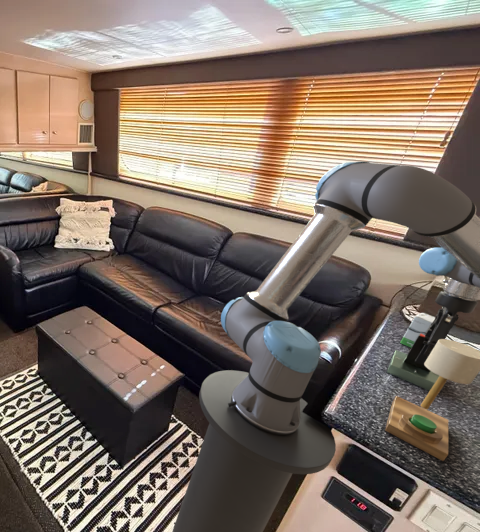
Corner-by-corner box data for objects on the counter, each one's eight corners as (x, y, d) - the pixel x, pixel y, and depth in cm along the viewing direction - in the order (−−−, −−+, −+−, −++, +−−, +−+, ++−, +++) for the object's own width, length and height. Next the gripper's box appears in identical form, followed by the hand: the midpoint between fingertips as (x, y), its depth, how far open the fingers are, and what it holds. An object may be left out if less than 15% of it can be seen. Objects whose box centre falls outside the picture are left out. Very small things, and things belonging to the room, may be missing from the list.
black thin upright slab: (430, 370, 99) (447, 342, 95) (429, 372, 98) (447, 344, 94) (404, 359, 103) (419, 333, 99) (403, 361, 102) (419, 335, 98)
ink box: (416, 350, 115) (433, 322, 111) (399, 343, 119) (414, 315, 115) (424, 345, 120) (440, 318, 116) (406, 338, 124) (422, 311, 119)
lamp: (414, 413, 78) (453, 353, 72) (396, 391, 86) (430, 335, 79) (455, 424, 76) (499, 363, 70) (432, 401, 83) (470, 344, 77)
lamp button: (432, 436, 72) (436, 431, 72) (409, 424, 75) (412, 419, 74) (433, 428, 75) (437, 422, 74) (410, 417, 78) (413, 411, 77)
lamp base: (443, 461, 71) (452, 448, 69) (384, 430, 77) (392, 418, 76) (444, 426, 81) (452, 414, 79) (392, 401, 88) (399, 390, 86)
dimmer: (435, 393, 93) (441, 385, 92) (386, 372, 101) (391, 364, 99) (436, 375, 102) (441, 367, 101) (391, 356, 110) (396, 349, 108)
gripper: (442, 282, 102) (410, 337, 109) (439, 299, 86) (402, 363, 93) (477, 291, 96) (441, 349, 104) (481, 312, 81) (438, 378, 88)
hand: (422, 356), depth 99 cm, fingers open, 13 cm apart
